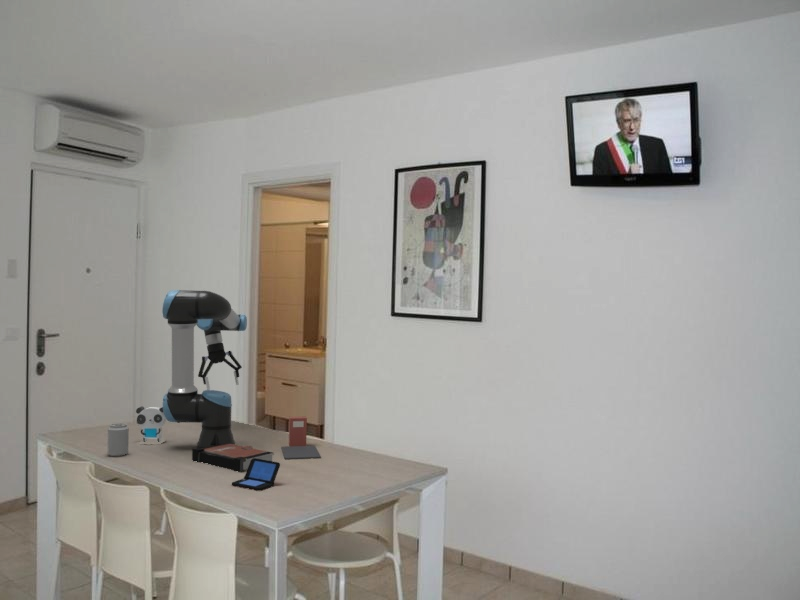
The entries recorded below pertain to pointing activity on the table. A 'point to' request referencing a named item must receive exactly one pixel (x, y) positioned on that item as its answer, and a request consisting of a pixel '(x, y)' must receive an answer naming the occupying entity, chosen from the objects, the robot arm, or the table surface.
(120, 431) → the can
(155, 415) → the panda figurine
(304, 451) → the mat
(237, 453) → the book
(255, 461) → the handheld game console
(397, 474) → the table surface
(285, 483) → the table surface
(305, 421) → the box
